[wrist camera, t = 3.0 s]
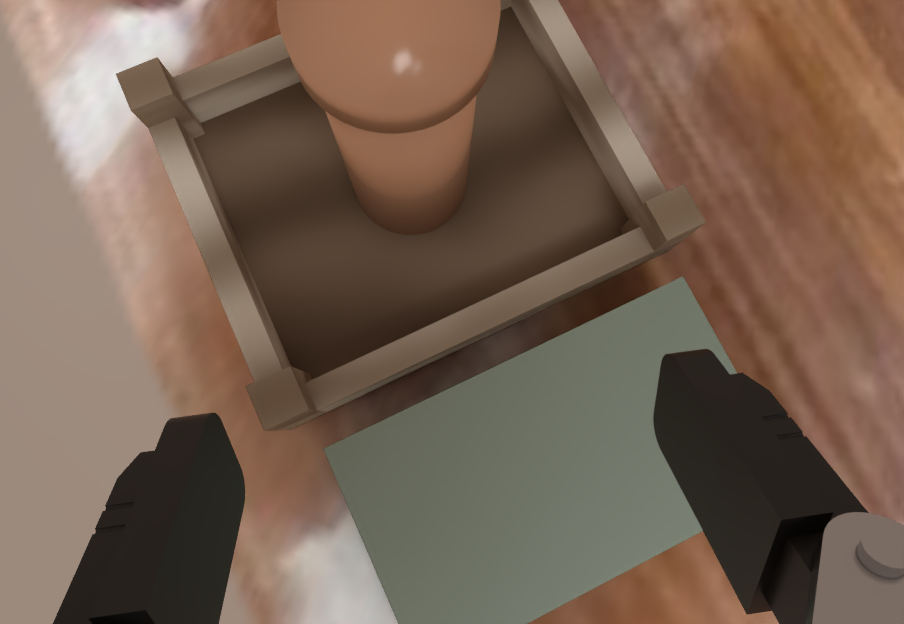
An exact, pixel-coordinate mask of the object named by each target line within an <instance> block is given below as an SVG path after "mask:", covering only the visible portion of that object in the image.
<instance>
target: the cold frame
mask: <svg viewBox="0 0 904 624" xmlns="http://www.w3.org/2000/svg"><path fill="white" fill-rule="evenodd" d="M116 76H117V78H118V80H119V83H120V85H121V88H122V90H123V92H124V95H125V97H126V100H127V102H128V104H129V107H130V109H131V111H132V112H133V113H134V114H135V115H136V116H137V117H138V118H139V119H140V120H141V121H142V122H143V123H144V124H145V125H146V126H147V127H148V128H149V131H150V133H151V135H152V138H153V140H154V143H155V145H156V147H157V150H158V152H159V155H160V157H161V159H162V162H163V164H164V167H165V169H166V171H167V174H168V176H169V179H170V181H171V183H172V186H173V188H174V191H175V193H176V195H177V198H178V200H179V202H180V205H181V207H182V210H183V212H184V214H185V217H186V219H187V222H188V224H189V226H190V229H191V231H192V234H193V236H194V238H195V241H196V243H197V246H198V248H199V250H200V253H201V255H202V257H203V260H204V262H205V265H206V267H207V269H208V272H209V274H210V277H211V279H212V281H213V284H214V286H215V289H216V291H217V293H218V296H219V298H220V301H221V303H222V305H223V308H224V310H225V312H226V315H227V317H228V320H229V322H230V324H231V327H232V329H233V332H234V334H235V336H236V339H237V341H238V344H239V346H240V348H241V351H242V353H243V356H244V358H245V360H246V363H247V365H248V367H249V370H250V372H251V375H252V377H253V379H254V383H252V384H250V385H248V386H246V389H247V391H248V394H249V396H250V398H251V401H252V403H253V406H254V408H255V411H256V413H257V415H258V418H259V420H260V423H261V425H262V427H263V430H264V431H270V430H291V429H293V428H295V427H298V426H300V425H302V424H304V423H306V422H308V421H310V420H312V419H314V418H317V417H319V416H321V415H323V414H325V413H327V412H329V411H331V410H333V409H336V408H338V407H340V406H342V405H344V404H346V403H348V402H350V401H352V400H355V399H357V398H359V397H361V396H363V395H365V394H367V393H369V392H371V391H374V390H376V389H378V388H380V387H382V386H384V385H386V384H388V383H390V382H393V381H395V380H397V379H399V378H401V377H403V376H405V375H407V374H410V373H412V372H414V371H416V370H418V369H420V368H422V367H424V366H426V365H429V364H431V363H433V362H435V361H437V360H439V359H441V358H443V357H445V356H448V355H450V354H452V353H454V352H456V351H458V350H460V349H462V348H464V347H467V346H469V345H471V344H473V343H475V342H477V341H479V340H481V339H483V338H486V337H488V336H490V335H492V334H494V333H496V332H498V331H500V330H502V329H505V328H507V327H509V326H511V325H513V324H515V323H517V322H519V321H521V320H524V319H526V318H528V317H530V316H532V315H534V314H536V313H538V312H540V311H543V310H545V309H547V308H549V307H551V306H553V305H555V304H557V303H559V302H562V301H564V300H566V299H568V298H570V297H572V296H574V295H576V294H578V293H581V292H583V291H585V290H587V289H589V288H591V287H593V286H595V285H597V284H600V283H602V282H604V281H606V280H608V279H610V278H612V277H614V276H616V275H619V274H621V273H623V272H625V271H627V270H629V269H631V268H633V267H635V266H638V265H640V264H642V263H644V262H646V261H648V260H650V259H652V258H654V257H657V256H659V255H661V254H663V253H665V252H667V251H669V250H670V249H672V248H673V247H674V246H676V245H677V244H678V243H680V242H681V241H682V240H684V239H685V238H686V237H687V236H689V235H690V234H691V233H693V232H694V231H695V230H697V229H698V228H699V227H700V226H702V225H703V224H704V223H706V221H705V219H704V218H703V216H702V214H701V212H700V211H699V209H698V207H697V205H696V204H695V202H694V200H693V198H692V197H691V195H690V193H689V192H688V190H687V188H686V186H685V185H684V184H682V185H680V186H678V187H676V188H674V189H672V190H669V191H666V189H665V187H664V186H663V184H662V182H661V180H660V179H659V177H658V175H657V173H656V172H655V170H654V168H653V166H652V165H651V163H650V161H649V159H648V158H647V156H646V154H645V152H644V151H643V149H642V147H641V145H640V144H639V142H638V140H637V138H636V137H635V135H634V133H633V131H632V129H631V128H630V126H629V124H628V122H627V121H626V119H625V117H624V115H623V114H622V112H621V110H620V108H619V107H618V105H617V103H616V101H615V100H614V98H613V96H612V94H611V93H610V91H609V89H608V87H607V86H606V84H605V82H604V80H603V79H602V77H601V75H600V73H599V72H598V70H597V68H596V66H595V64H594V63H593V61H592V59H591V57H590V56H589V54H588V52H587V50H586V49H585V47H584V45H583V43H582V42H581V40H580V38H579V36H578V35H577V33H576V31H575V29H574V28H573V26H572V24H571V22H570V21H569V19H568V17H567V15H566V14H565V12H564V10H563V8H562V7H561V5H560V3H559V1H558V0H501V12H500V20H499V27H498V34H497V41H496V48H495V54H494V60H493V63H492V67H491V70H490V73H489V75H488V77H487V79H486V81H485V83H484V85H483V86H482V88H481V89H480V91H479V92H478V94H477V96H476V105H475V115H474V124H473V133H472V142H471V151H470V161H469V170H468V179H467V188H466V193H465V197H464V200H463V202H462V204H461V206H460V208H459V210H458V211H457V213H456V214H455V215H454V216H453V217H452V218H451V219H450V220H449V221H448V222H447V223H445V224H444V225H442V226H441V227H439V228H437V229H435V230H433V231H430V232H428V233H423V234H417V235H403V234H397V233H394V232H390V231H388V230H386V229H383V228H382V227H380V226H378V225H377V224H376V223H374V222H373V221H372V220H371V219H370V218H369V217H368V216H367V215H366V214H365V212H364V211H363V209H362V208H361V206H360V204H359V202H358V199H357V196H356V194H355V191H354V188H353V185H352V183H351V180H350V177H349V175H348V172H347V169H346V166H345V164H344V161H343V158H342V155H341V153H340V150H339V147H338V145H337V142H336V139H335V136H334V134H333V131H332V128H331V125H330V123H329V120H328V117H327V115H326V112H325V110H324V109H322V108H321V107H320V106H319V105H318V104H317V103H316V102H315V101H314V100H313V99H312V98H311V97H310V95H309V94H308V93H307V91H306V90H305V89H304V87H303V85H302V83H301V81H300V80H299V78H298V76H297V73H296V71H295V68H294V66H293V63H292V61H291V58H290V56H289V54H288V51H287V49H286V46H285V44H284V41H283V38H282V36H281V34H280V35H277V36H275V37H272V38H270V39H267V40H265V41H263V42H260V43H258V44H255V45H253V46H250V47H248V48H245V49H243V50H240V51H238V52H235V53H233V54H230V55H228V56H226V57H223V58H221V59H218V60H216V61H213V62H211V63H208V64H206V65H203V66H201V67H198V68H196V69H193V70H191V71H188V72H186V73H184V74H181V75H179V76H176V77H174V78H173V77H172V76H171V75H170V73H169V72H168V71H167V69H166V68H165V67H164V65H163V64H162V63H161V62H160V60H159V59H158V58H154V59H152V60H149V61H147V62H144V63H142V64H139V65H137V66H134V67H132V68H129V69H127V70H124V71H122V72H119V73H117V74H116Z"/></svg>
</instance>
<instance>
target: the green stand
mask: <svg viewBox="0 0 904 624" xmlns="http://www.w3.org/2000/svg"><path fill="white" fill-rule="evenodd" d="M700 349H709V350H711V351H712V352H713V353H714V354H715V355H716V357H717V358H718V359H719V361H720V362H721V363H722V365H723V366H724V367H725V369H726V370H727V371H728V373H729V374H737V372H736V370H735V368H734V367H733V365H732V363H731V361H730V359H729V358H728V356H727V354H726V352H725V351H724V349H723V347H722V345H721V343H720V342H719V340H718V338H717V336H716V334H715V333H714V331H713V329H712V327H711V326H710V324H709V322H708V320H707V318H706V317H705V315H704V313H703V311H702V309H701V308H700V306H699V304H698V302H697V301H696V299H695V297H694V295H693V293H692V292H691V290H690V288H689V286H688V284H687V283H686V281H685V279H684V277H681V278H678V279H676V280H674V281H672V282H670V283H668V284H666V285H664V286H662V287H660V288H658V289H656V290H653V291H651V292H649V293H647V294H645V295H643V296H641V297H639V298H637V299H635V300H633V301H631V302H628V303H626V304H624V305H622V306H620V307H618V308H616V309H614V310H612V311H610V312H608V313H605V314H603V315H601V316H599V317H597V318H595V319H593V320H591V321H589V322H587V323H585V324H583V325H580V326H578V327H576V328H574V329H572V330H570V331H568V332H566V333H564V334H562V335H560V336H558V337H555V338H553V339H551V340H549V341H547V342H545V343H543V344H541V345H539V346H537V347H535V348H532V349H530V350H528V351H526V352H524V353H522V354H520V355H518V356H516V357H514V358H512V359H510V360H507V361H505V362H503V363H501V364H499V365H497V366H495V367H493V368H491V369H489V370H487V371H485V372H482V373H480V374H478V375H476V376H474V377H472V378H470V379H468V380H466V381H464V382H462V383H459V384H457V385H455V386H453V387H451V388H449V389H447V390H445V391H443V392H441V393H439V394H437V395H434V396H432V397H430V398H428V399H426V400H424V401H422V402H420V403H418V404H416V405H414V406H411V407H409V408H407V409H405V410H403V411H401V412H399V413H397V414H395V415H393V416H391V417H389V418H386V419H384V420H382V421H380V422H378V423H376V424H374V425H372V426H370V427H368V428H366V429H364V430H361V431H359V432H357V433H355V434H353V435H351V436H349V437H347V438H345V439H343V440H341V441H338V442H336V443H334V444H332V445H330V446H328V447H326V448H324V452H325V454H326V456H327V459H328V461H329V463H330V466H331V468H332V470H333V473H334V475H335V477H336V480H337V482H338V484H339V487H340V489H341V491H342V494H343V496H344V498H345V501H346V503H347V505H348V508H349V510H350V512H351V514H352V517H353V519H354V521H355V524H356V526H357V528H358V531H359V533H360V535H361V538H362V540H363V542H364V545H365V547H366V549H367V552H368V554H369V556H370V559H371V561H372V563H373V566H374V568H375V570H376V573H377V575H378V577H379V580H380V582H381V584H382V587H383V589H384V591H385V594H386V596H387V598H388V601H389V603H390V605H391V608H392V610H393V612H394V615H395V617H396V619H397V622H398V624H527V623H529V622H531V621H533V620H535V619H537V618H539V617H541V616H542V615H544V614H546V613H548V612H550V611H552V610H554V609H556V608H558V607H560V606H561V605H563V604H565V603H567V602H569V601H571V600H573V599H575V598H577V597H578V596H580V595H582V594H584V593H586V592H588V591H590V590H592V589H594V588H596V587H597V586H599V585H601V584H603V583H605V582H607V581H609V580H611V579H613V578H614V577H616V576H618V575H620V574H622V573H624V572H626V571H628V570H630V569H632V568H633V567H635V566H637V565H639V564H641V563H643V562H645V561H647V560H649V559H650V558H652V557H654V556H656V555H658V554H660V553H662V552H664V551H666V550H668V549H669V548H671V547H673V546H675V545H677V544H679V543H681V542H683V541H685V540H686V539H688V538H690V537H692V536H694V535H696V534H698V533H700V532H702V531H703V530H702V528H701V526H700V524H699V522H698V520H697V518H696V516H695V515H694V513H693V511H692V509H691V507H690V505H689V503H688V501H687V499H686V497H685V495H684V494H683V492H682V490H681V488H680V486H679V484H678V482H677V480H676V478H675V476H674V474H673V473H672V471H671V469H670V467H669V465H668V463H667V461H666V459H665V457H664V455H663V453H662V452H661V450H660V447H659V445H658V442H657V439H656V436H655V431H654V424H653V414H654V407H655V400H656V394H657V387H658V380H659V373H660V367H661V361H662V358H663V357H664V355H665V354H670V353H677V352H685V351H692V350H700Z"/></svg>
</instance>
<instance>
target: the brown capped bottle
mask: <svg viewBox="0 0 904 624" xmlns="http://www.w3.org/2000/svg"><path fill="white" fill-rule="evenodd" d="M500 12H501V0H277V20H278V24H279V29H280V33H281V36H282V38H283V41H284V44H285V46H286V49H287V51H288V54H289V56H290V58H291V61H292V63H293V66H294V68H295V71H296V73H297V76H298V78H299V80H300V81H301V83H302V85H303V87H304V89H305V90H306V91H307V93H308V94H309V95H310V97H311V98H312V99H313V100H314V101H315V102H316V103H317V104H318V105H319V106H320V107H321V108H322V109H324V110H325V112H326V115H327V117H328V120H329V123H330V125H331V128H332V131H333V134H334V136H335V139H336V142H337V145H338V147H339V150H340V153H341V155H342V158H343V161H344V164H345V166H346V169H347V172H348V175H349V177H350V180H351V183H352V185H353V188H354V191H355V194H356V196H357V199H358V202H359V204H360V206H361V208H362V209H363V211H364V212H365V214H366V215H367V216H368V217H369V218H370V219H371V220H372V221H373V222H374V223H376V224H377V225H378V226H380V227H382V228H383V229H386V230H388V231H390V232H394V233H397V234H403V235H417V234H423V233H428V232H430V231H433V230H435V229H437V228H439V227H441V226H442V225H444V224H445V223H447V222H448V221H449V220H450V219H451V218H452V217H453V216H454V215H455V214H456V213H457V211H458V210H459V208H460V206H461V204H462V202H463V200H464V197H465V193H466V188H467V179H468V170H469V161H470V151H471V142H472V133H473V124H474V115H475V105H476V96H477V94H478V92H479V91H480V89H481V88H482V86H483V85H484V83H485V81H486V79H487V77H488V75H489V73H490V70H491V67H492V63H493V60H494V54H495V48H496V41H497V34H498V27H499V20H500Z"/></svg>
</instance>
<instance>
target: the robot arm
mask: <svg viewBox="0 0 904 624" xmlns="http://www.w3.org/2000/svg"><path fill="white" fill-rule="evenodd" d="M653 424H654V431H655V436H656V439H657V442H658V445H659V447H660V450H661V452H662V453H663V455H664V457H665V459H666V461H667V463H668V465H669V467H670V469H671V471H672V473H673V474H674V476H675V478H676V480H677V482H678V484H679V486H680V488H681V490H682V492H683V494H684V495H685V497H686V499H687V501H688V503H689V505H690V507H691V509H692V511H693V513H694V515H695V516H696V518H697V520H698V522H699V524H700V526H701V528H702V530H703V532H704V534H705V536H706V537H707V539H708V541H709V543H710V545H711V547H712V549H713V551H714V553H715V555H716V557H717V558H718V560H719V562H720V564H721V566H722V568H723V570H724V572H725V574H726V576H727V578H728V579H729V581H730V583H731V585H732V587H733V589H734V591H735V593H736V595H737V597H738V598H739V600H740V602H741V604H742V606H743V608H744V610H745V612H746V614H753V613H760V612H766V611H773V613H774V615H775V617H776V618H777V620H778V622H779V624H904V525H902V524H900V523H898V522H896V521H894V520H891V519H889V518H886V517H883V516H880V515H876V514H871V513H869V512H868V511H867V510H866V509H865V508H864V507H863V506H862V505H861V503H860V502H859V501H858V500H857V498H856V497H855V496H854V495H853V493H852V492H851V491H850V490H849V489H848V487H847V486H846V485H845V484H844V482H843V481H842V480H841V479H840V477H839V476H838V475H837V474H836V472H835V471H834V470H833V469H832V468H831V466H830V465H829V464H828V463H827V461H826V460H825V459H824V458H823V456H822V455H821V454H820V453H819V451H818V450H817V449H816V448H815V447H814V445H813V444H812V443H811V442H810V440H809V439H808V438H807V437H804V436H803V434H802V430H801V429H800V428H799V427H798V426H797V424H796V423H795V422H794V421H793V419H792V418H788V416H787V412H786V411H785V409H784V408H783V407H782V406H781V405H780V403H779V402H778V401H777V400H776V398H775V397H774V396H773V395H772V393H771V392H770V391H769V390H767V389H766V388H764V387H763V386H761V385H760V384H758V383H757V382H755V381H754V380H752V379H751V378H749V377H748V376H746V375H745V374H743V373H738V374H729V373H728V371H727V370H726V369H725V367H724V366H723V365H722V363H721V362H720V361H719V359H718V358H717V357H716V355H715V354H714V353H713V352H712V351H711V350H709V349H700V350H692V351H685V352H677V353H670V354H665V355H664V357H663V358H662V361H661V367H660V373H659V380H658V387H657V394H656V400H655V407H654V414H653ZM244 501H245V484H244V477H243V473H242V469H241V467H240V464H239V462H238V460H237V457H236V455H235V452H234V450H233V447H232V445H231V443H230V440H229V438H228V435H227V433H226V430H225V428H224V426H223V423H222V421H221V419H220V417H219V416H218V415H217V414H216V413H208V414H200V415H193V416H185V417H178V418H171V419H170V420H168V421H167V423H166V425H165V427H164V429H163V432H162V434H161V437H160V439H159V442H158V444H157V447H156V449H155V451H149V452H142V453H140V454H139V455H138V456H137V457H136V458H135V459H134V460H133V462H132V463H131V464H130V465H129V466H128V467H127V468H126V469H125V470H124V472H123V473H122V474H121V475H120V476H119V477H118V478H117V481H116V483H115V485H114V487H113V490H112V492H111V494H110V496H109V499H108V501H107V503H106V505H105V506H106V510H105V511H103V512H102V514H101V517H100V519H99V521H98V524H97V526H96V528H95V529H96V533H95V534H93V535H92V537H91V539H90V541H89V544H88V546H87V548H86V551H85V553H84V555H83V557H82V559H81V562H80V564H79V566H78V569H77V571H76V573H75V575H74V577H73V580H72V582H71V584H70V586H69V589H68V591H67V593H66V596H65V598H64V600H63V602H62V604H61V607H60V609H59V611H58V613H57V616H56V618H55V620H54V623H53V624H219V619H220V615H221V610H222V605H223V601H224V596H225V591H226V587H227V582H228V577H229V573H230V568H231V563H232V559H233V554H234V549H235V545H236V540H237V535H238V531H239V526H240V522H241V517H242V512H243V508H244Z"/></svg>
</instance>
